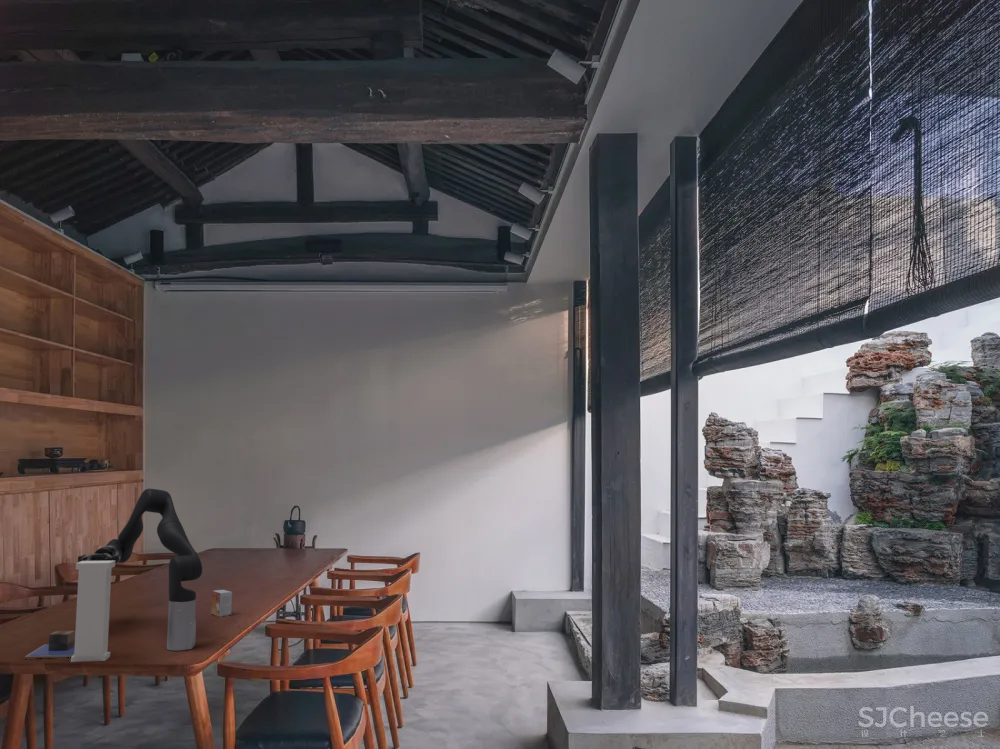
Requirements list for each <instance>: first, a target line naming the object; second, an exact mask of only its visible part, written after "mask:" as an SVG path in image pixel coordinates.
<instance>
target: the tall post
mask: <svg viewBox="0 0 1000 749" xmlns="http://www.w3.org/2000/svg"><path fill="white" fill-rule="evenodd" d="M115 566H116V563H115V561H87V560H86V561H81V562H78V561H77V562H76V563H75V570H78V578H77V594H76V595H77V599H76V615H75V630H74V631H75V649H74V655H73V656H72V657H71V658H70V662H71V663H77V662H78V663H79V662H102V661H103V662H105V661H106V660H108V659H109V658H110V657H111V651H108V649H109V648H108V646H109V626H110V608H111V607H110V604H111V587H112V586H111V584H112V570H113V568H115Z"/></svg>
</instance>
